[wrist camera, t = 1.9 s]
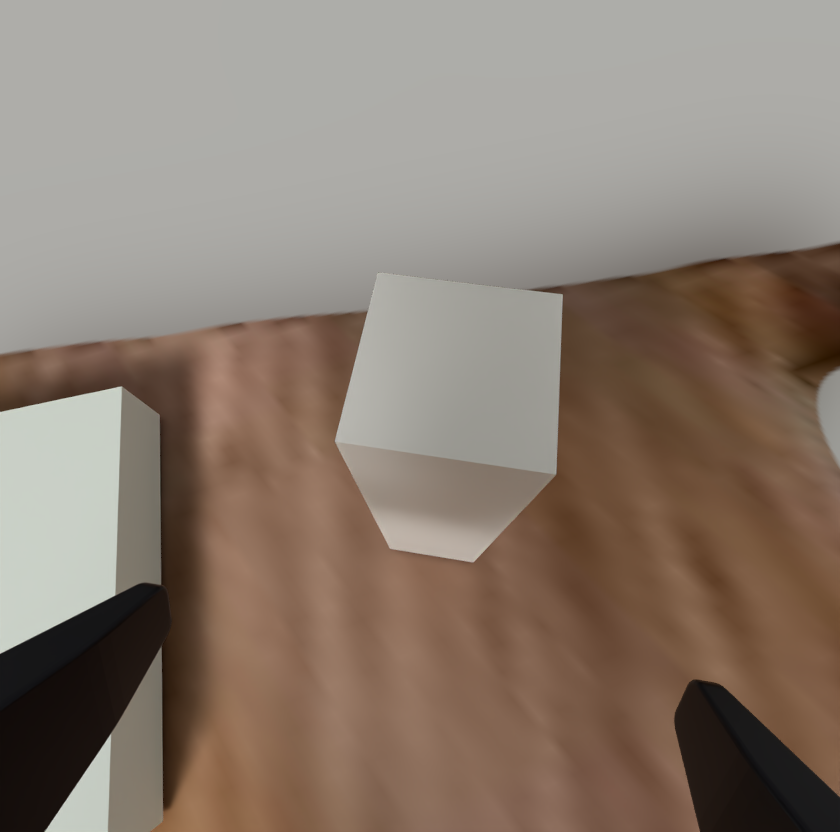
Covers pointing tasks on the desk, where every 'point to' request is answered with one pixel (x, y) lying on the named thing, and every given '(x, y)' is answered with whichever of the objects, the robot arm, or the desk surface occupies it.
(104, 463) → the socket
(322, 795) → the desk surface
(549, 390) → the plug
